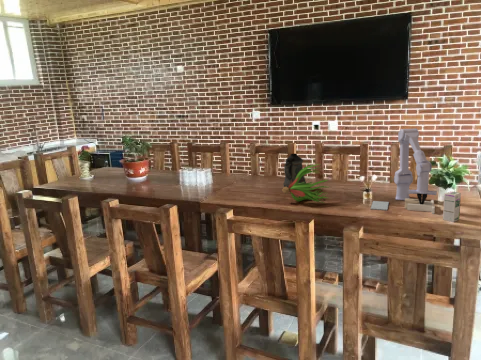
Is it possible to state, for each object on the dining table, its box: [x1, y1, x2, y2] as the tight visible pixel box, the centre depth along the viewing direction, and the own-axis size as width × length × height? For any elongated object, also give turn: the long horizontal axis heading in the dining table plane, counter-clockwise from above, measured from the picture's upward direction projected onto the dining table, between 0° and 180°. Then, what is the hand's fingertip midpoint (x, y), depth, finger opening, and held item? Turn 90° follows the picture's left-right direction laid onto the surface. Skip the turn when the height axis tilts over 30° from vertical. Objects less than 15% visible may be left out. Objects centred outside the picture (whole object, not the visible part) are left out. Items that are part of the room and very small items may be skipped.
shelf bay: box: [406, 199, 436, 215], centre depth 223 cm, size 16×14×4 cm
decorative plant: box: [281, 162, 331, 204], centre depth 248 cm, size 26×25×30 cm
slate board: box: [370, 200, 390, 211], centre depth 232 cm, size 16×9×1 cm, turn 157°
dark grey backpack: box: [282, 153, 307, 188], centre depth 280 cm, size 16×19×25 cm
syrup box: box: [442, 190, 462, 223], centre depth 202 cm, size 6×6×14 cm
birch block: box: [404, 198, 419, 210], centre depth 225 cm, size 4×7×5 cm, turn 68°
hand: (421, 206), depth 223 cm, fingers closed
